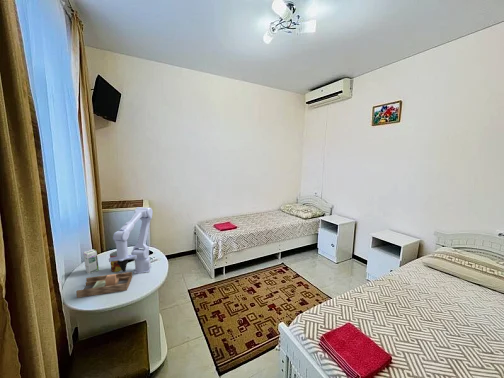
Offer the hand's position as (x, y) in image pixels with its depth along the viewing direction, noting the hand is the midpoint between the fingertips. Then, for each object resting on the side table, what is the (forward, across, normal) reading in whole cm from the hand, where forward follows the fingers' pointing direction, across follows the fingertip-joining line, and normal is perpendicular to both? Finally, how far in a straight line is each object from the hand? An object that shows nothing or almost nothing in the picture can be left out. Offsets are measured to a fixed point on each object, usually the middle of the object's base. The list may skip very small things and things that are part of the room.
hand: (124, 270), depth 133 cm
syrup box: (+9, -26, +23) cm, 36 cm away
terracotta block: (+7, -8, 0) cm, 10 cm away
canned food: (+9, -10, +21) cm, 25 cm away
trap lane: (+9, -10, 0) cm, 13 cm away
